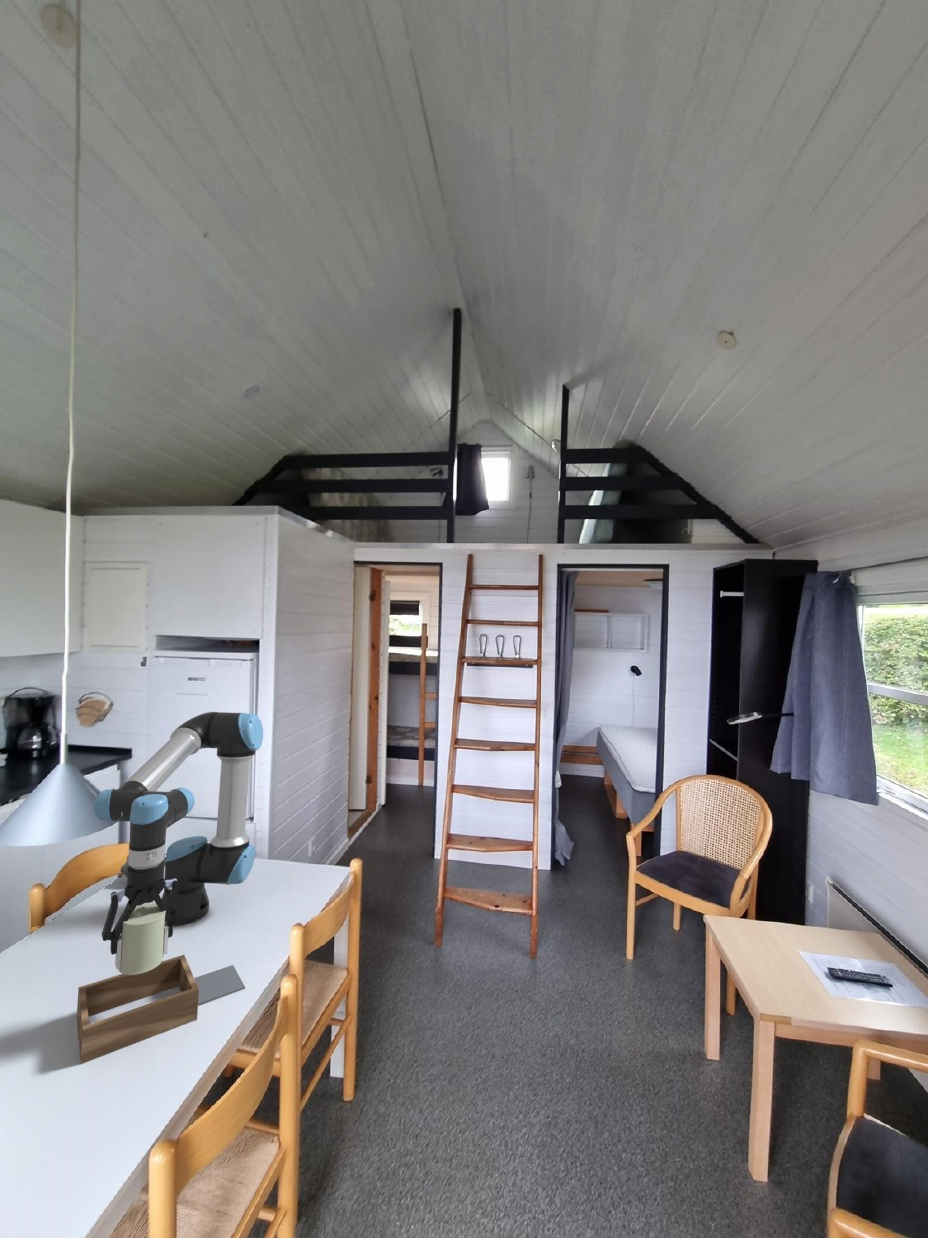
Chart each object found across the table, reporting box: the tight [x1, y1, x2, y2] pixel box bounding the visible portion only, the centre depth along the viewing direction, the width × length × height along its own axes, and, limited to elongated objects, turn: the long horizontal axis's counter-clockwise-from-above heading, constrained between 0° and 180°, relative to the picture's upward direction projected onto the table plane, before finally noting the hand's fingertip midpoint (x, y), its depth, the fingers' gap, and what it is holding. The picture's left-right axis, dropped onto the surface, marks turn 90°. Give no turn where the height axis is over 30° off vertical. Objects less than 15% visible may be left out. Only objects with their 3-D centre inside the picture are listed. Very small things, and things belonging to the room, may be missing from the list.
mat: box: [194, 964, 246, 1007], centre depth 137 cm, size 11×11×1 cm
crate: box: [76, 954, 199, 1065], centre depth 125 cm, size 16×22×7 cm
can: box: [117, 903, 166, 975], centre depth 125 cm, size 9×9×12 cm
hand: (141, 958), depth 125 cm, fingers closed on can, 9 cm apart
